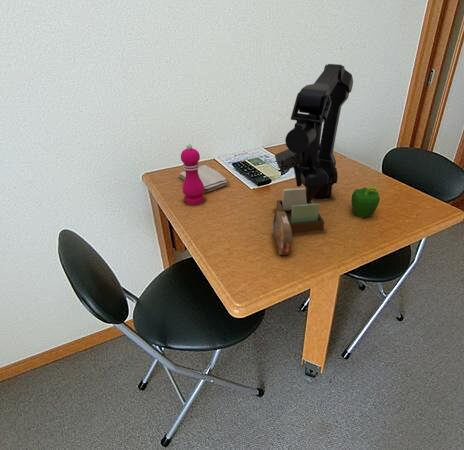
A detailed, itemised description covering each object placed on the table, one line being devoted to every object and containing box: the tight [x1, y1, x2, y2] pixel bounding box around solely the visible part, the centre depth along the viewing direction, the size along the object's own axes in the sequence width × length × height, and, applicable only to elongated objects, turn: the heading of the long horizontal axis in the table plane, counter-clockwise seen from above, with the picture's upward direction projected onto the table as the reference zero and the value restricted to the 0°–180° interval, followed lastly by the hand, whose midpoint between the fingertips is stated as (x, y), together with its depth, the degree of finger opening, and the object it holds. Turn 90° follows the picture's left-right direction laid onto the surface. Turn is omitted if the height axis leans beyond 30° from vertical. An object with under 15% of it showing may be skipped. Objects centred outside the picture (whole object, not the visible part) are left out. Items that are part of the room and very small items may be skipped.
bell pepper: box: [350, 186, 381, 219], centre depth 107 cm, size 8×8×10 cm
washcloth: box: [178, 165, 229, 195], centre depth 127 cm, size 12×18×3 cm, turn 39°
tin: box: [272, 210, 293, 256], centre depth 93 cm, size 15×3×8 cm, turn 5°
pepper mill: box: [180, 143, 205, 206], centre depth 111 cm, size 7×7×20 cm
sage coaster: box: [291, 202, 321, 223], centre depth 99 cm, size 1×8×8 cm, turn 100°
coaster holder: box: [275, 199, 325, 235], centre depth 105 cm, size 14×11×4 cm
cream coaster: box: [281, 187, 307, 210], centre depth 108 cm, size 1×8×8 cm, turn 100°
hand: (303, 193), depth 96 cm, fingers open, 9 cm apart
